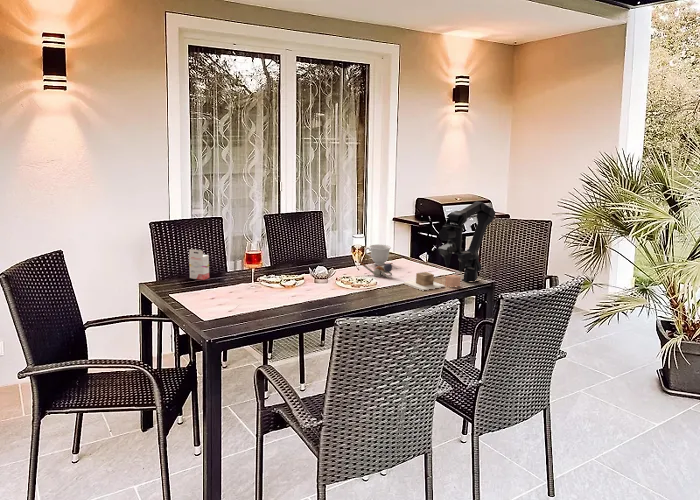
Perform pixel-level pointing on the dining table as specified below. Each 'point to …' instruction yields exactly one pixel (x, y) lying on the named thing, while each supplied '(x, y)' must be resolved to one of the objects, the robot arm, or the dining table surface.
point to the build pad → (420, 287)
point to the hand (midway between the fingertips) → (453, 269)
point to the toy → (380, 269)
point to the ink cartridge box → (198, 265)
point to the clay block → (452, 280)
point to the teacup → (379, 253)
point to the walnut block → (424, 278)
